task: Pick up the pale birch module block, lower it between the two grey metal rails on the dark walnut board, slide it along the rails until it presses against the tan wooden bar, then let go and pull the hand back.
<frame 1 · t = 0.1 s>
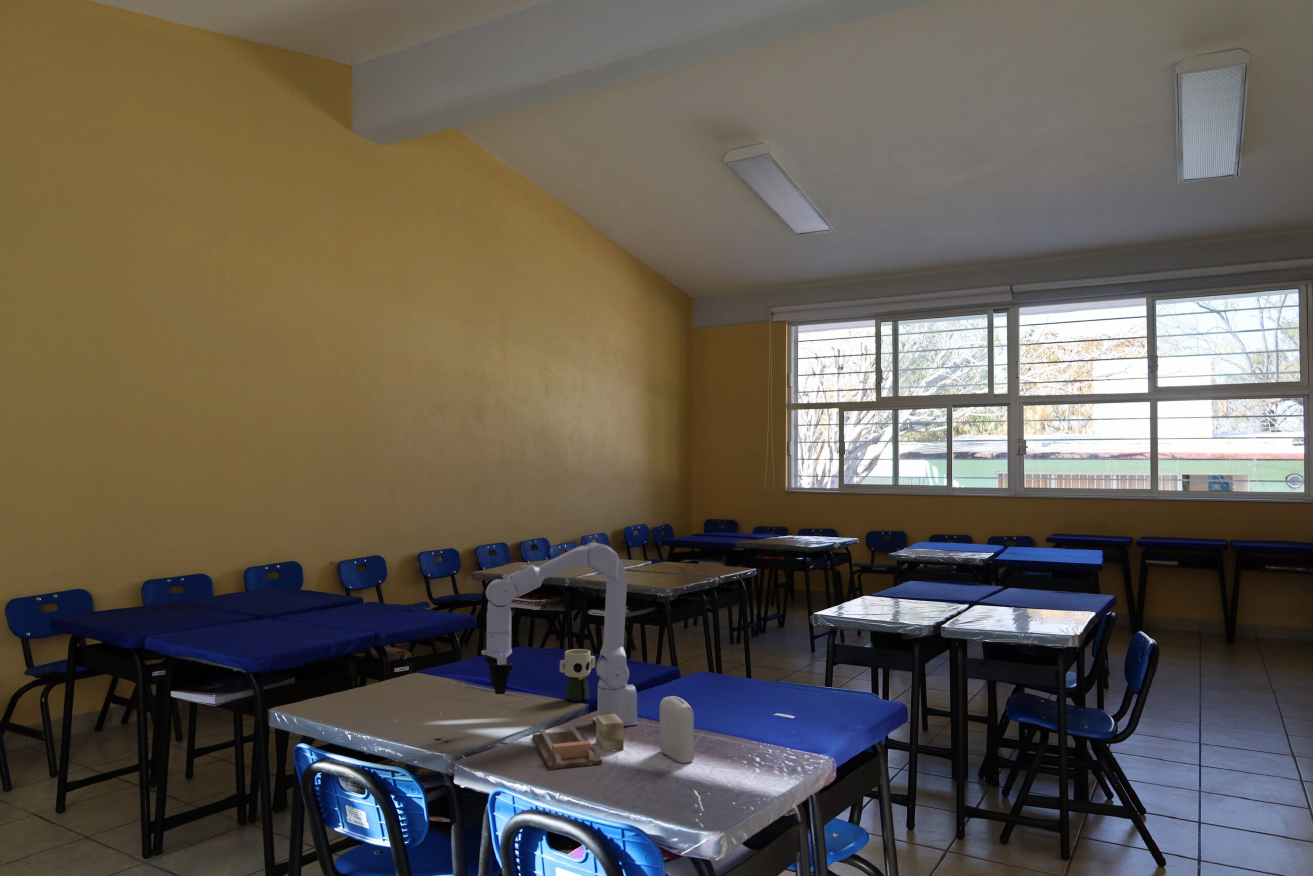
hand: (498, 689, 188), 10 cm above the table, tool pointing down, fingers open, 7 cm apart
rail: (565, 743, 176), on the mounting board, point 1 cm above the table
module block: (609, 746, 179), on the table
character mug: (577, 700, 218), on the table
tan wooden bar: (571, 759, 169), resting on mounting board
photo printer: (676, 757, 172), on the table
mounting board: (565, 750, 176), on the table
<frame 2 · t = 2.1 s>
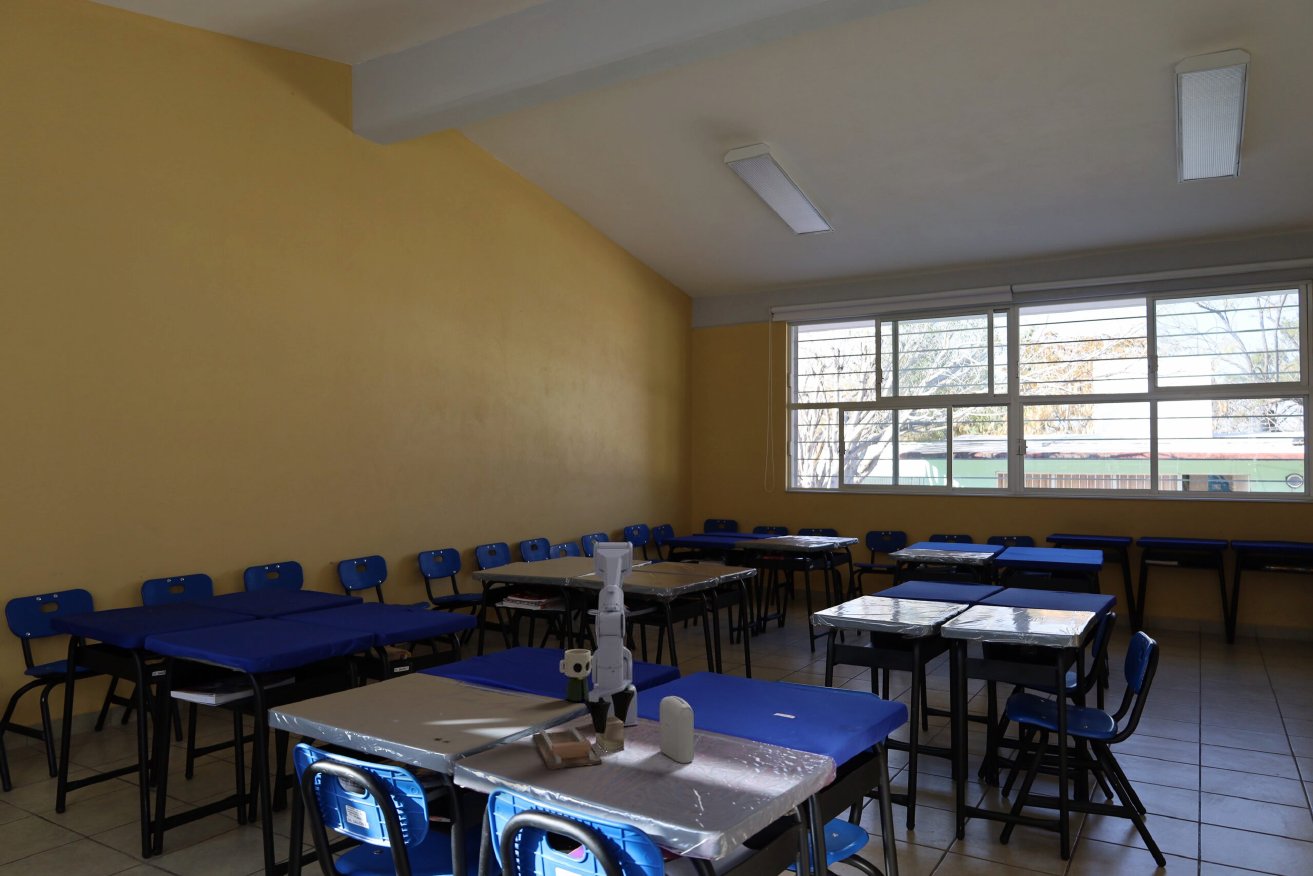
hand: (610, 728, 179), 4 cm above the table, tool pointing down, fingers open, 7 cm apart
module block: (609, 747, 179), on the table, touching gripper
everything else where it was.
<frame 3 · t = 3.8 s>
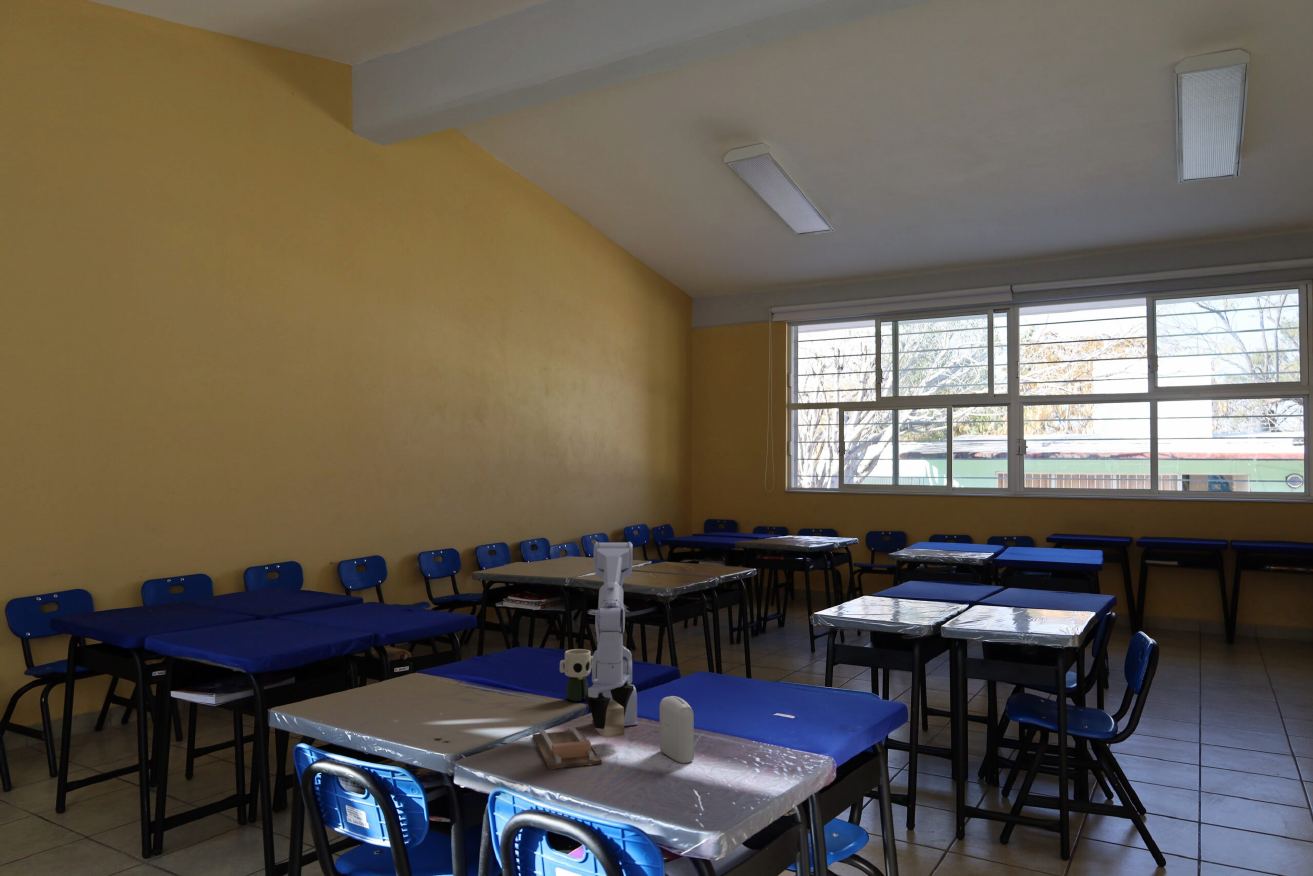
hand: (609, 723, 179), 5 cm above the table, tool pointing down, fingers closed on module block, 7 cm apart
module block: (609, 732, 179), point 3 cm above the table, touching gripper
everything else where it was.
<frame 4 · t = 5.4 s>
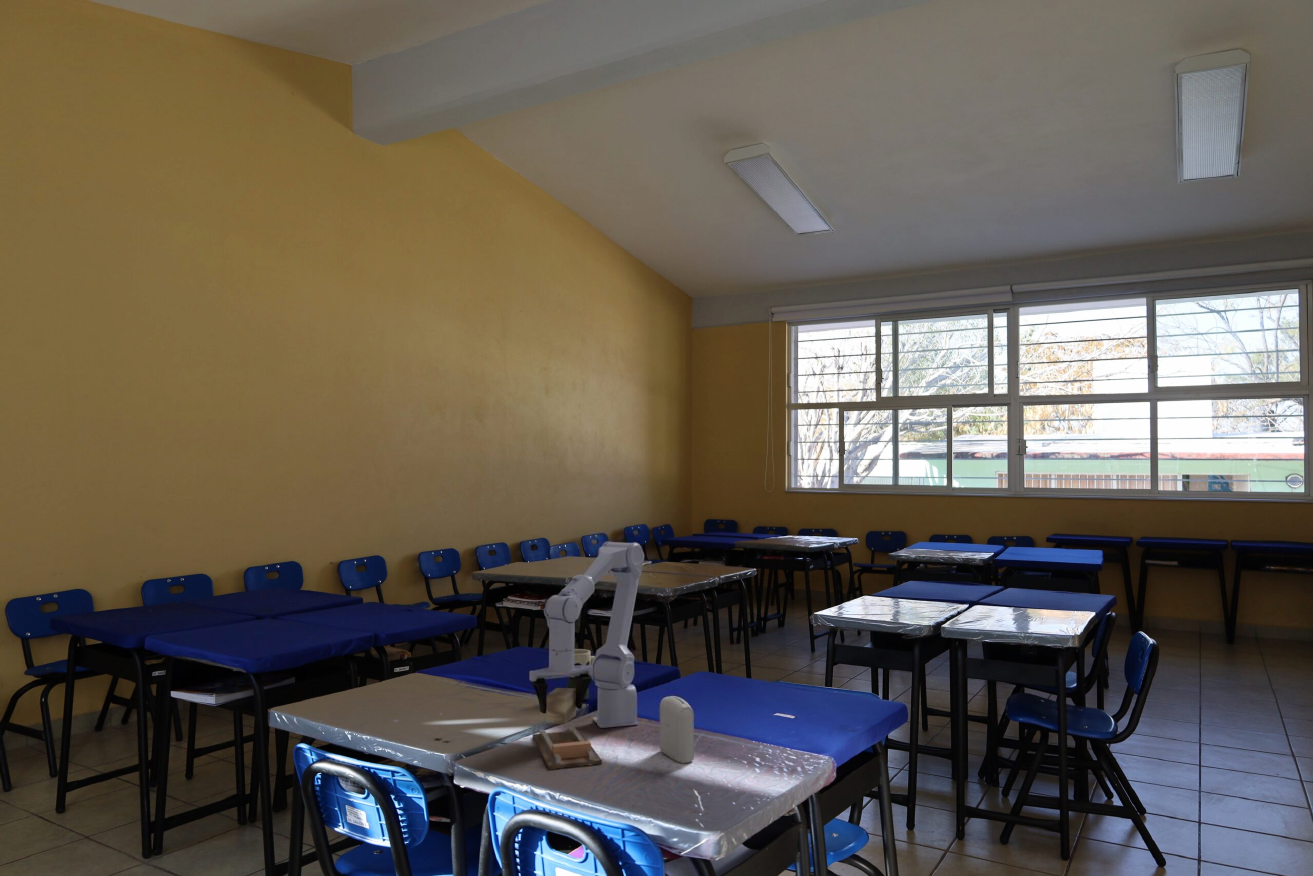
hand: (561, 710, 181), 7 cm above the table, tool pointing down, fingers closed on module block, 7 cm apart
module block: (561, 719, 181), point 5 cm above the table, touching gripper
everything else where it was.
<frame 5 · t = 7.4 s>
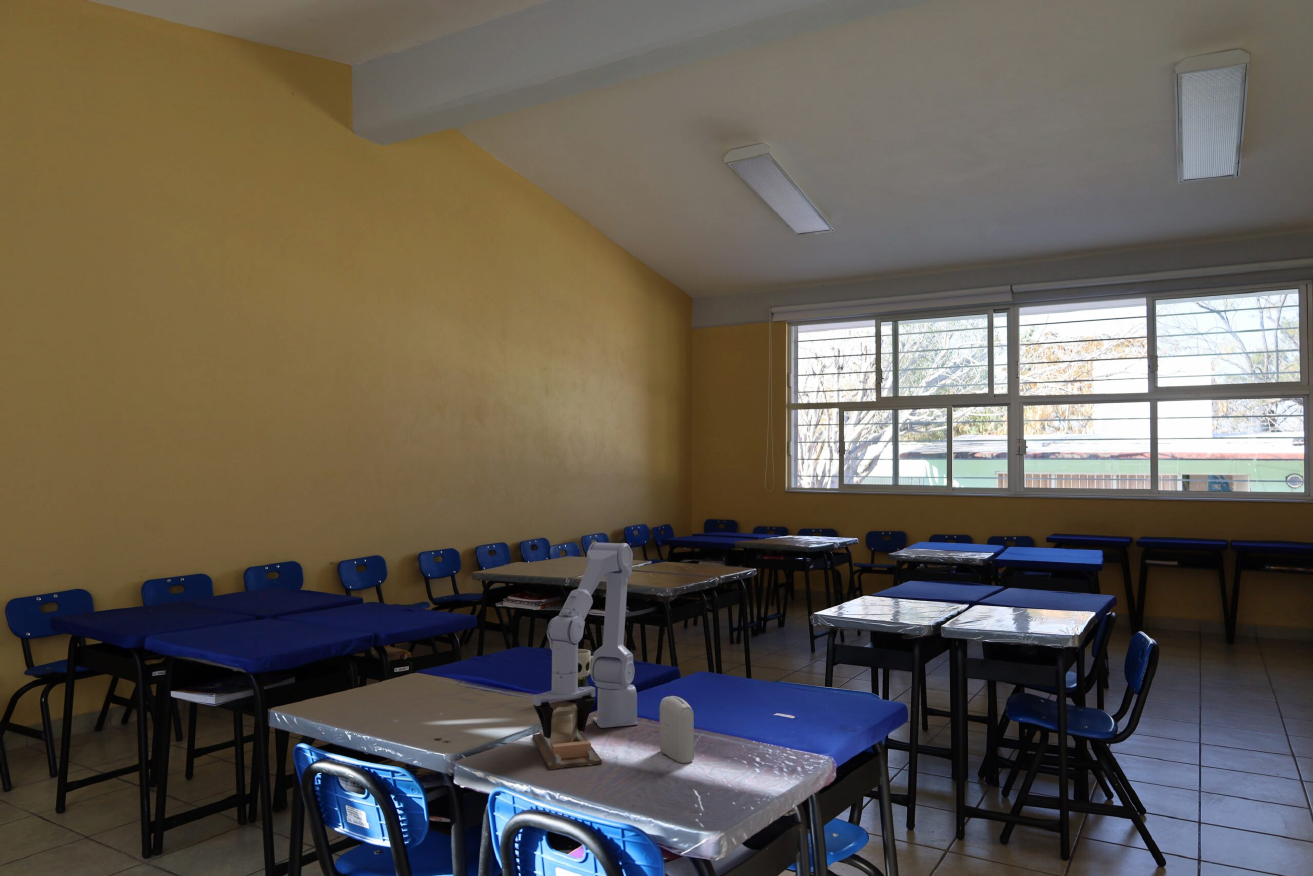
hand: (564, 733, 177), 3 cm above the table, tool pointing down, fingers closed on module block, 7 cm apart
module block: (564, 739, 177), point 2 cm above the table, touching gripper
everything else where it was.
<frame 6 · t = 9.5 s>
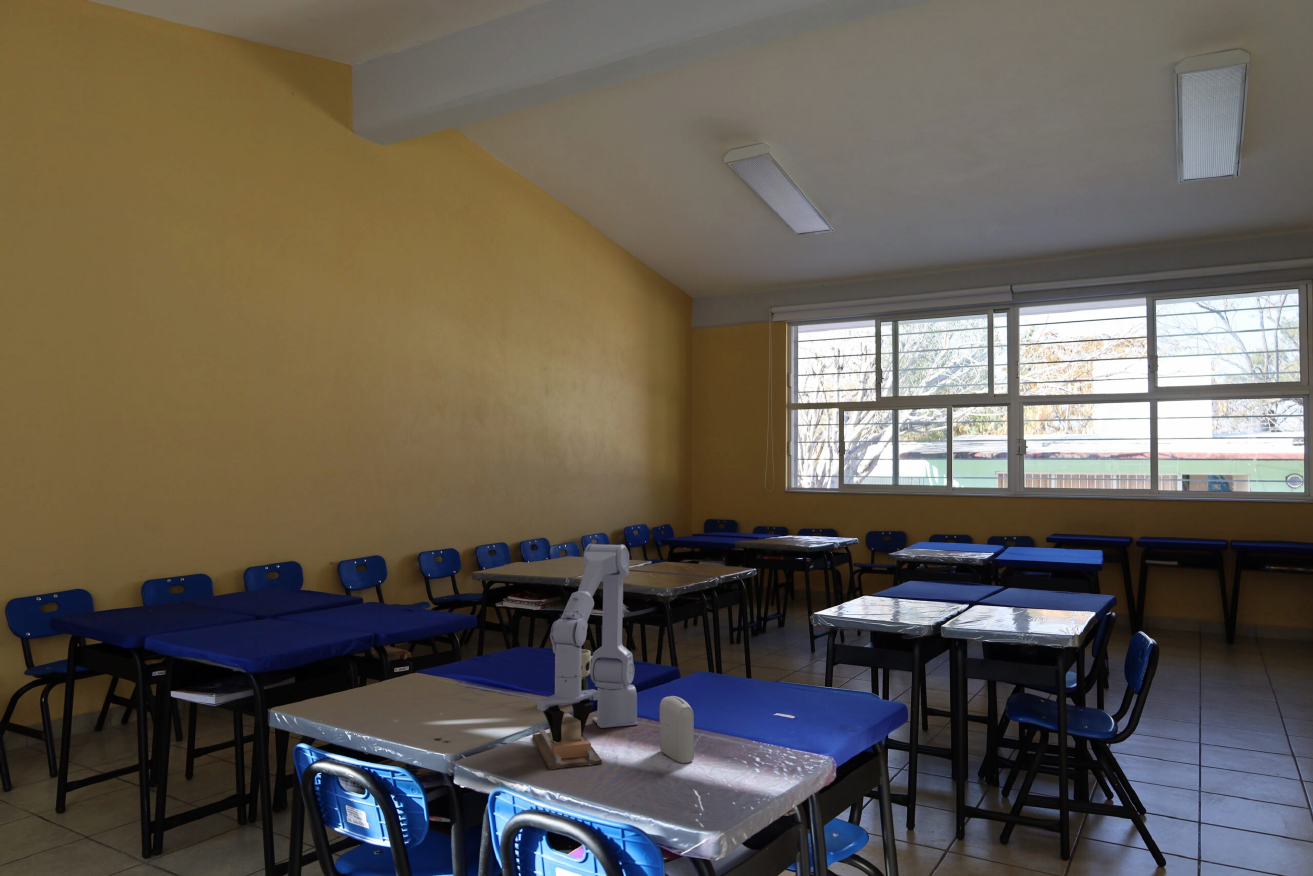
hand: (567, 738, 174), 3 cm above the table, tool pointing down, fingers closed on module block, 5 cm apart
module block: (565, 746, 175), point 1 cm above the table, touching gripper, rail
everything else where it was.
when the fingers open (3 cm above the table, at t = 9.5 s): module block stays where it is, resting on mounting board.
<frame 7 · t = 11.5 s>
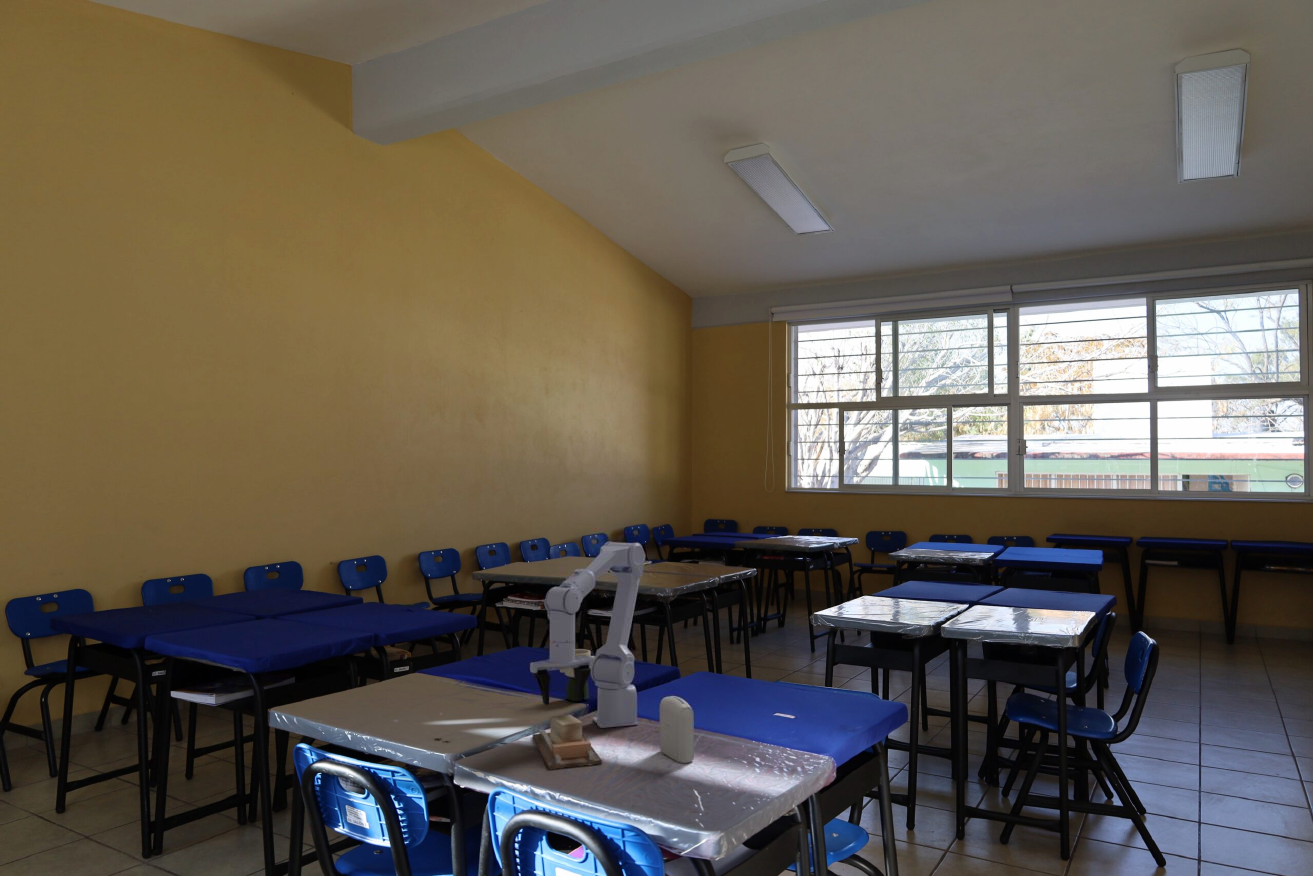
hand: (562, 701, 181), 9 cm above the table, tool pointing down, fingers open, 7 cm apart
module block: (565, 747, 175), point 1 cm above the table, touching mounting board
everything else where it was.
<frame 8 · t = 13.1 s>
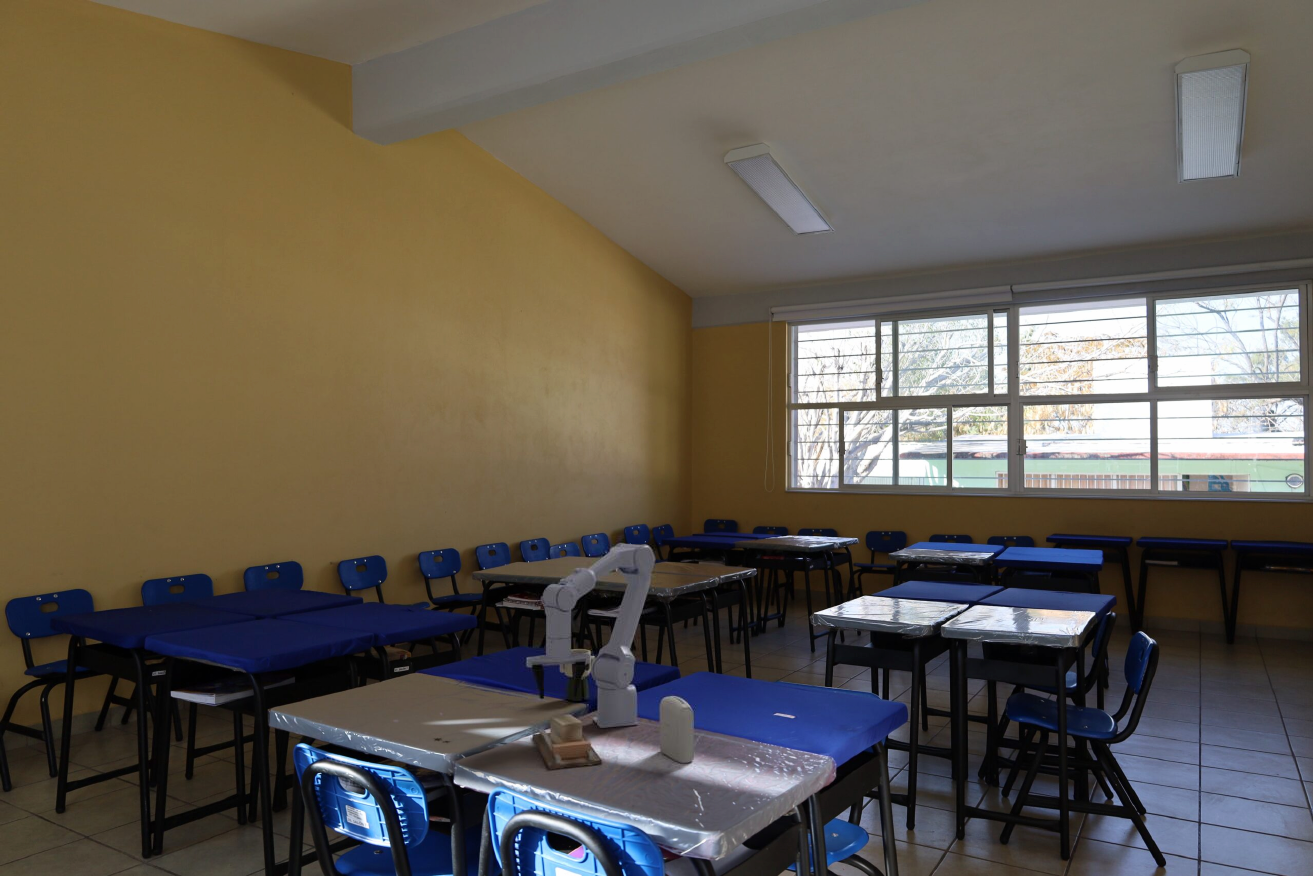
hand: (558, 696, 185), 9 cm above the table, tool pointing down, fingers open, 7 cm apart
nothing on the table moved.
at the end: module block 1.3 cm from the target spot on the mounting board, point 0.8 cm above the mounting board's base; module block tilted 0°; the gripper is holding nothing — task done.
